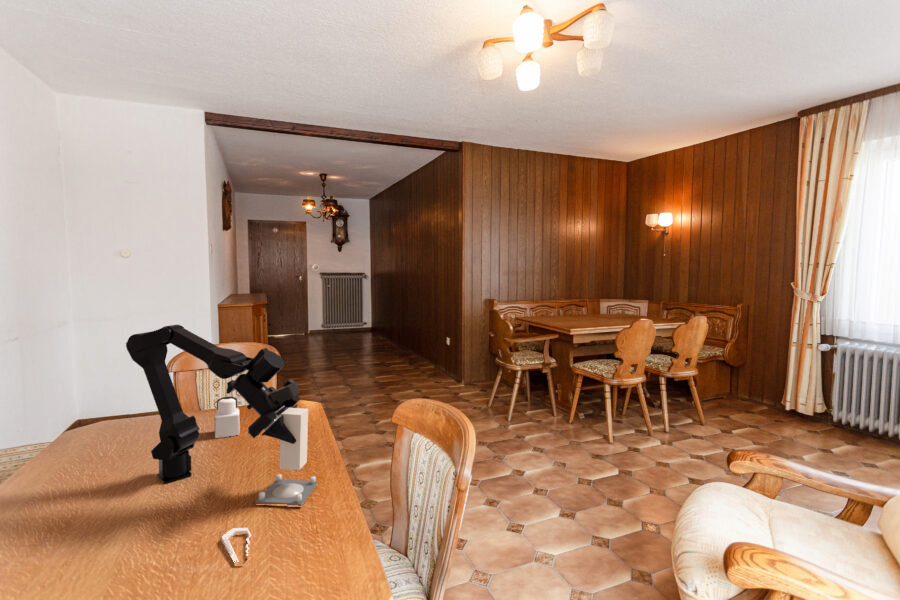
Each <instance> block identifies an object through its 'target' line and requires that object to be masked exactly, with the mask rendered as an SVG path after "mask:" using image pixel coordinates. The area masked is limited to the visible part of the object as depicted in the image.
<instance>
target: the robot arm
mask: <svg viewBox="0 0 900 600" xmlns="http://www.w3.org/2000/svg"><path fill="white" fill-rule="evenodd" d="M170 344H171V345H173V346H175V347H177V348H178V349H180V350H182V351H184V352H186V353H188V354H189V355H191V356H193V357H194V358H196V359H199V360H200V361H202V362H203V363H205V364H206V366H207V368H208V369H209V371H210V372H211V373H213V374H214V375H216V376H217V377H218V378H219V379H221V380H226V379H230V378H232V377H235V376H237V377H236V378H235V379H232V380H229V381H228V382H227V383H226V385H227V388H226V394H231V393H232V392H233V393H234V391H236V392H237V393H238V394H239V395H240V397H241V398H242V399H244V400H245V402H246V403H247V404H248V405H247V406H246V408H247V409H248V410H249V411H250V410H251V409H253V410H254V411H255V412H256V413H257V414H258V415H259V417H258V418H256V420H255V421H254V422H252V423H251V424H250V425H249V426H248V430H247V432H248V435H250V436H251V438H252V439H256V438H257V437H258V436H259V435H260V434H261V433H262V434H261V436H263V437H264V436H267V437H271V438H274V439H278V440H279V441H280V440H283V441H286V442H289V443H292V444H294V443H295V442H296V439H295V437H294V436H293V435H292V433H291V432H290V431H289V430H288V428H287V427H286V426H285V424H284V417H283V415H282V416H281V413H283V412H284V411H285V410H287V409H288V408H298V402H299V401H301V398H300V396H299V394H300V391H299V386H300V384H299V383H297V381H295V380H294V379H292V378H290V379H288V380H285V381H284V382H283V386H282V387H280V388H275V387H273V386H270V387H267V385H266V383H269V382H270V381H271V380H272V379H273V378H274V377H275V376H276V375H277V373H279V372H280V371H281V370H282V369H283V368H284V367H285V361H284V358H283V357H282V356H281V355H279V354H277V353H276V352H274V351H272V350H269V349H268V348H267V347H265V348H261V349H260V350H259V351H258V352H257V354H256V355H255V356H254V357H249V356H247V355H246V354H244V353H243V352H241V351H238V350H235V349H233V348H232V349H231V348H226V347H221V346H217V345H215V344H214V343H212V342H210V341H208V340H207V339H204V338H203V337H202V336H201V337H200V336H199V335H197V334H195V333H193V332H192V331H190V330H188V329H186V328H185V327H184V326H182V325H181V324H171V325H166V326H165V325H164V326H163V327H161V328H158V329H156V330H152V331H145V332H140V333H136V334H132V335H130V336H129V337H128V339H127V341H126V342H125V346H126V350H127V352H128V354H129V356H130V358H131V360H132V361H133V362H134V363H136V364H137V365H138V366H139V367H141V368H142V369H143V373H144V375H145V377H146V380H147V383H148V385H149V389H150V392H151V395H152V397H153V400H154V402H155V405H156V408H157V411H158V414H159V417H160V421H161V423H160V427H159V431H158V435H159V441H160V442H159V443H158V444H157V445H155V446H154V447H153V448H152V450H151V451H150V452H151V456H152V459H153V460H158V472H157V474H156V477H158V479H159V480H160V481H161V482H162V483H163V484H168V483H173V482H175V481H178V480H179V481H180V480H182V479H185V478H188V477H191V476H192V474H193V473H192V472H191V471H192V456H191V454H190V451H189V450H192V449H193V448H194V447H195V443H196V442H197V441H198V438H199V437H200V433H199V431H200V429H201V428H200V427H199V426H198V423H197V419H196V417H195V416H194V415H191V416H188V415H187V414H186V413H185V412H184V411H183V409H182V405H181V403H180V401H179V400H180V399H179V397H178V395H177V392H176V389H175V386H174V383H173V380H172V378H171V375H170V372H169V370H168V367H167V364H166V358H167V354H168V352H169V351H168V345H170ZM246 371H247V372H246ZM245 372H246V373H245Z"/></svg>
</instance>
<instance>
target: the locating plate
mask: <svg viewBox="0 0 900 600" xmlns="http://www.w3.org/2000/svg"><path fill="white" fill-rule="evenodd" d="M316 479H317V477H316V476H315V475H313V476H310V477H309V480H298V479H283V477H282V474H280V473H279V474H276V475H275V480H274V481H273V482H272V483H271V484H270V486H268V487H267V489H266V490H264V491H260V492H258V498H257V499H256V500H255V505H256V504H287V505H298V506H301V505H302V504H303V503H304V501H305V500H306V499H307V497H308V496H309V494H310V493H311V492H312V490H313V489H314V487H315V486H316V484H317V483H318V484H319V481H317V480H316Z"/></svg>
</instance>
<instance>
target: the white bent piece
mask: <svg viewBox="0 0 900 600" xmlns="http://www.w3.org/2000/svg"><path fill="white" fill-rule="evenodd" d="M225 533H226V532H225ZM236 533H247V534H248V535H249V537H248V536H247V537H246V539H245V542H246V541H247V543H248V544H245V552H246V553H247V554H245V557H246V556H248V555H249V556H250V553H249V552H250V547H248V545H249V544H250V545H251V540H250V541H249V538H250V537H251V536H252V534H251V532H250V530H249V528H248V527H233V528H231V529H229V530H228V531H227V533H226V534H224V535H223V536H222V539H221V542H222V541H223V543H224V545H225V547H226V549H227V551H228V553H229V554H230V557H231V558H232V560H233V562H234V561H235V562H236V560H237V562H240V561H239V559H238V556H237V554H236V552H235V550H234V548H233V546H232V543H231V541H230V540H228V539H229V538H230V537H231V536H233V535H234V534H236ZM252 537H253V536H252ZM223 543H222V544H223ZM224 545H223V546H224ZM225 547H224V548H225ZM246 548H247V550H246ZM226 549H225V550H226ZM248 550H249V552H248ZM227 551H226V552H227ZM228 553H227V554H228ZM248 553H249V554H248ZM230 557H229V558H230ZM235 562H234V563H235Z"/></svg>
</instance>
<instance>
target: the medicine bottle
mask: <svg viewBox="0 0 900 600" xmlns="http://www.w3.org/2000/svg"><path fill="white" fill-rule="evenodd" d="M214 414H215V415H214V438H215V439H222V438H230V437H229V436H231V437H236V435H238V436H239V435H240V408H238V398H237V397H235V396H224V397H220V398H219V399H218V400H217V401H216V410H215V413H214Z"/></svg>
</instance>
